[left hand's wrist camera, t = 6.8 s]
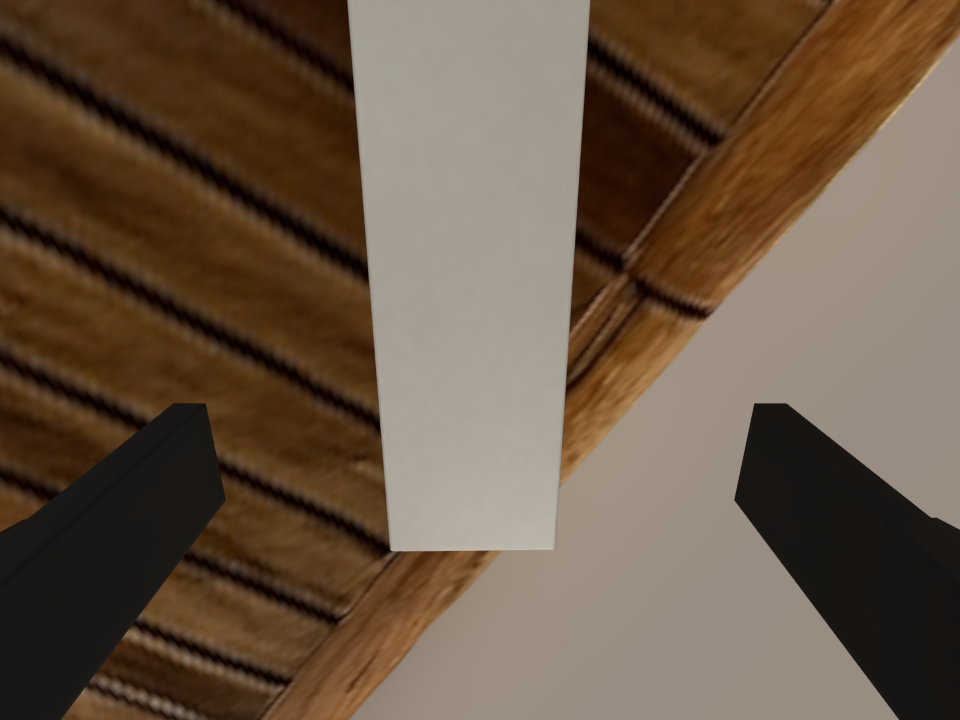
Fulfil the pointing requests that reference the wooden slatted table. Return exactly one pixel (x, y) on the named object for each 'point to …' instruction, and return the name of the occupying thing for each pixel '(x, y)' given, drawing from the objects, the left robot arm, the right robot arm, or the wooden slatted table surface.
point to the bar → (470, 257)
